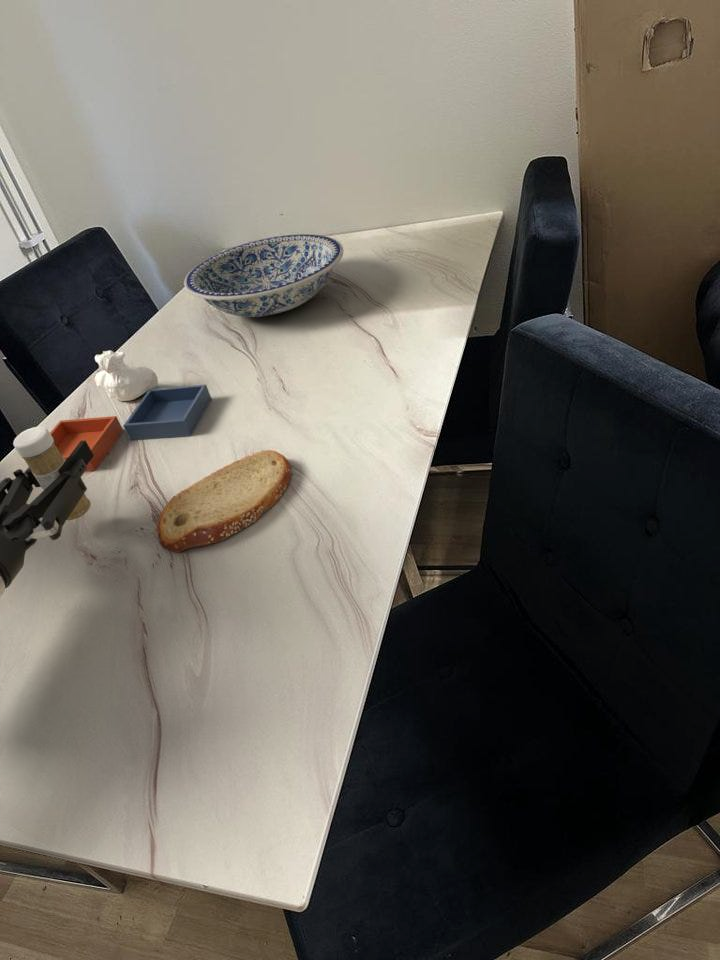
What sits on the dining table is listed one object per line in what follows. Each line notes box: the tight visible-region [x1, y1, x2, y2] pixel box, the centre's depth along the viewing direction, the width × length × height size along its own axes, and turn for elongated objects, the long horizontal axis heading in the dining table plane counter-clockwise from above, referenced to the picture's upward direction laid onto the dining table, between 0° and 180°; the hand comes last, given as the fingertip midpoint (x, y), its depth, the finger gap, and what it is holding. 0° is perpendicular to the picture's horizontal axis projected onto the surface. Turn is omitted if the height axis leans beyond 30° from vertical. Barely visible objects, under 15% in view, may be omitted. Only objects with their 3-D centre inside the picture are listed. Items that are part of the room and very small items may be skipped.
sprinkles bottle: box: [12, 426, 92, 522], centre depth 90 cm, size 5×5×14 cm
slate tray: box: [122, 384, 212, 441], centre depth 115 cm, size 11×11×3 cm
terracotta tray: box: [49, 415, 125, 473], centre depth 112 cm, size 11×11×3 cm
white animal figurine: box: [94, 350, 159, 402], centre depth 122 cm, size 12×8×11 cm
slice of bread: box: [156, 449, 293, 553], centre depth 93 cm, size 18×18×4 cm
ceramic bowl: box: [183, 233, 345, 318], centre depth 143 cm, size 34×34×10 cm
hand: (71, 449), depth 94 cm, fingers closed on sprinkles bottle, 4 cm apart
